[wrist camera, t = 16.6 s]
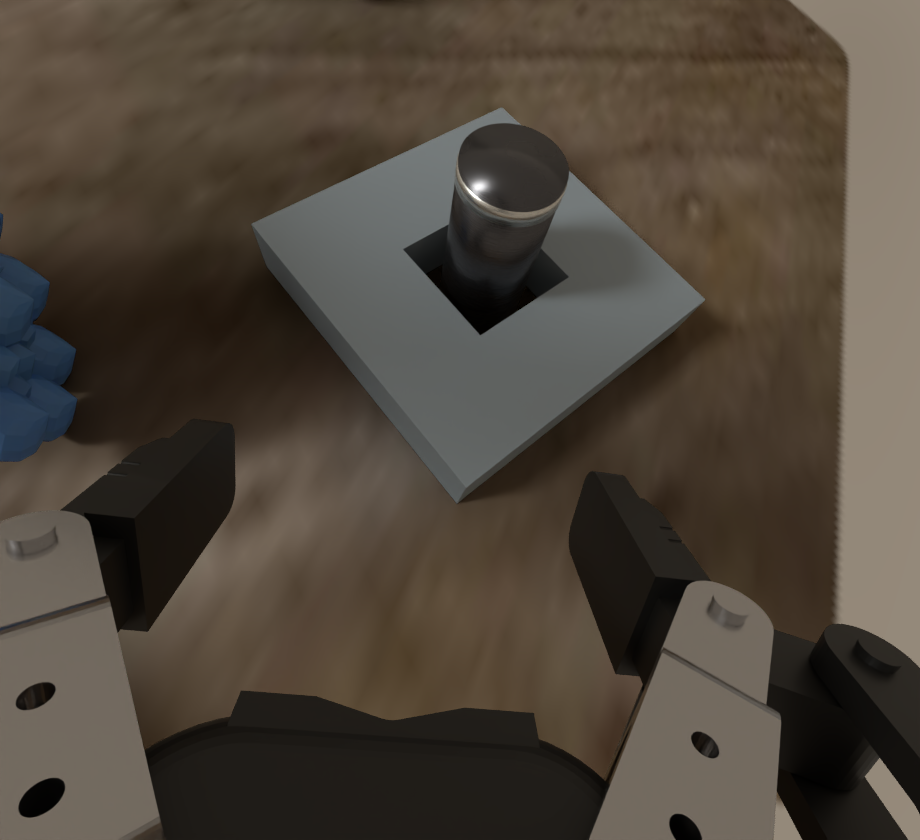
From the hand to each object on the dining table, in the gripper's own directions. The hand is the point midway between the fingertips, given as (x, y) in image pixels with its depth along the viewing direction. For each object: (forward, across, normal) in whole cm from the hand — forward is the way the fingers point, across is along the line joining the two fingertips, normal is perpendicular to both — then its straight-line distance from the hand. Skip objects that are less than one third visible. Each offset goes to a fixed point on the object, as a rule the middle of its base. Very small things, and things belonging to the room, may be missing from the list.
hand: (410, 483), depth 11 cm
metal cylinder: (+21, -3, -1) cm, 21 cm away
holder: (+21, -3, -1) cm, 21 cm away
